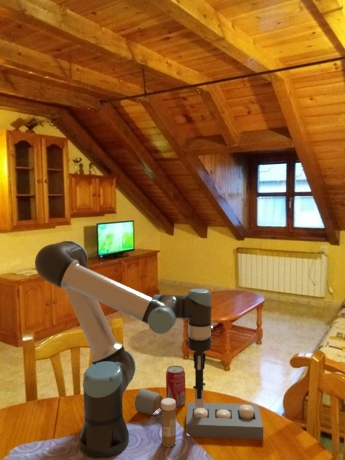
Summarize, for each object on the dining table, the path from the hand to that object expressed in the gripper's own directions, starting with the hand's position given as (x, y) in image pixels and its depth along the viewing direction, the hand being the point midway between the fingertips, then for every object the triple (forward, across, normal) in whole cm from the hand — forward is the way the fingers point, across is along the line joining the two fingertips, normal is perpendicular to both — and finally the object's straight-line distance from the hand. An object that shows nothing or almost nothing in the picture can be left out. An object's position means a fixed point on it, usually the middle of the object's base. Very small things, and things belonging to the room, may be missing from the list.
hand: (199, 406), depth 130 cm
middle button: (+5, 0, -8) cm, 9 cm away
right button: (+3, 0, -16) cm, 16 cm away
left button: (+5, 0, -1) cm, 5 cm away
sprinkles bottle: (+7, -11, +9) cm, 16 cm away
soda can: (+7, +14, +9) cm, 18 cm away
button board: (+6, 0, -8) cm, 10 cm away
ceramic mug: (+7, +8, +18) cm, 21 cm away
